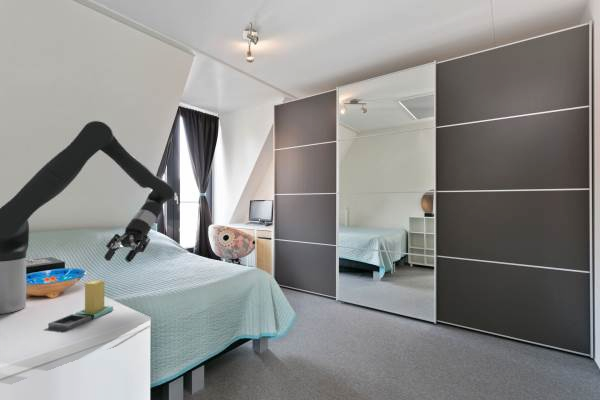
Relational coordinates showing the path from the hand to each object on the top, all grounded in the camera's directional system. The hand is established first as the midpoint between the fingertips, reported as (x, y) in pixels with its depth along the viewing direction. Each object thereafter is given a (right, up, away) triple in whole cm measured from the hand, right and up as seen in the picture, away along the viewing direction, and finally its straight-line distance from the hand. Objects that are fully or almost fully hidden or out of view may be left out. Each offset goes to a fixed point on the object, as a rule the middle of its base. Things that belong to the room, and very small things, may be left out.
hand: (116, 260), depth 103 cm
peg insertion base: (-3, -17, -13) cm, 21 cm away
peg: (-2, -15, -8) cm, 17 cm away
